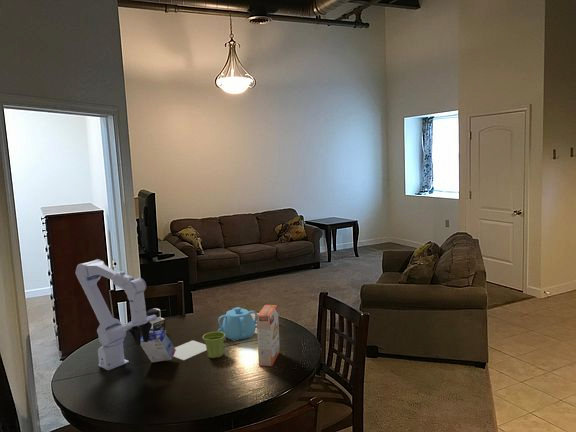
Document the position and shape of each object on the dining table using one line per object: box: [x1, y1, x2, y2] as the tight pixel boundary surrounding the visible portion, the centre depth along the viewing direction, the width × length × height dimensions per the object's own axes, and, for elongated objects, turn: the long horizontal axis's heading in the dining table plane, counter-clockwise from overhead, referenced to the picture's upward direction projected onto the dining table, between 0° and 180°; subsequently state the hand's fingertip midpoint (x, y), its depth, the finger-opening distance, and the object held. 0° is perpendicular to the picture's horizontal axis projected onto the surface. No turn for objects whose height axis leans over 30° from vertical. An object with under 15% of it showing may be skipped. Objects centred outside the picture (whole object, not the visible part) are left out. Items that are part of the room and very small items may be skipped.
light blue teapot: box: [217, 306, 258, 342], centre depth 220 cm, size 16×16×14 cm
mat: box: [173, 339, 207, 361], centre depth 207 cm, size 16×14×1 cm
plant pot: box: [202, 331, 226, 359], centre depth 200 cm, size 9×9×9 cm
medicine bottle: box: [146, 307, 167, 334], centre depth 228 cm, size 7×7×12 cm
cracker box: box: [256, 304, 280, 367], centre depth 192 cm, size 14×6×21 cm, turn 168°
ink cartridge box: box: [140, 329, 176, 363], centre depth 193 cm, size 10×6×14 cm, turn 77°
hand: (142, 343), depth 188 cm, fingers open, 3 cm apart
